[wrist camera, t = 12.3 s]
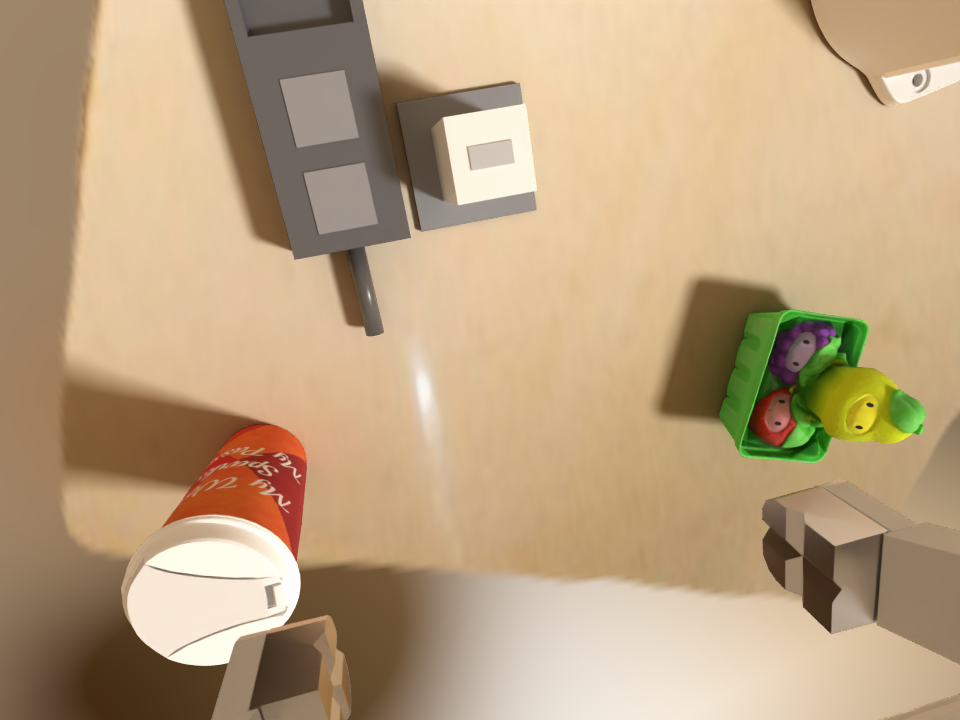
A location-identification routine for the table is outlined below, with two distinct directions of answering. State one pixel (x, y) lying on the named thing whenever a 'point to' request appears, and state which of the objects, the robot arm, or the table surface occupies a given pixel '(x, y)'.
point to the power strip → (323, 129)
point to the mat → (423, 164)
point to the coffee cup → (223, 552)
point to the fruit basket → (810, 389)
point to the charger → (484, 155)
